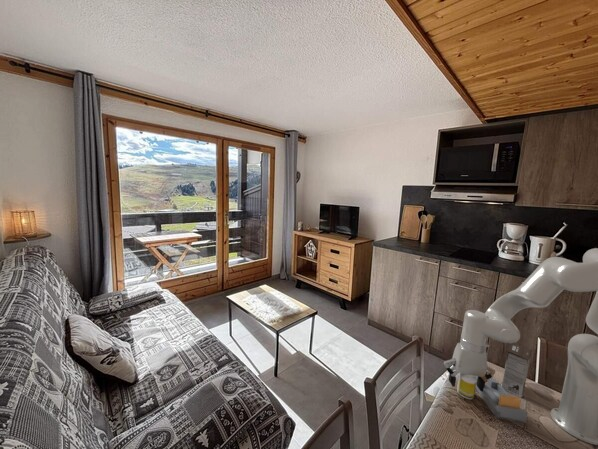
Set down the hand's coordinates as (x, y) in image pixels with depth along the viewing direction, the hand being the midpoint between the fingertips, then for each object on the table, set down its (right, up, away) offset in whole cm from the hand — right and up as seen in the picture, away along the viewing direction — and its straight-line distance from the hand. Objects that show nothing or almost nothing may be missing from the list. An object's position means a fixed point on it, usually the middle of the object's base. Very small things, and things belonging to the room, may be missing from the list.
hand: (465, 386), depth 94 cm
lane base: (+10, -4, -2) cm, 11 cm away
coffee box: (+22, -4, +5) cm, 23 cm away
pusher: (+9, -3, -5) cm, 11 cm away
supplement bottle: (0, -3, 0) cm, 3 cm away
